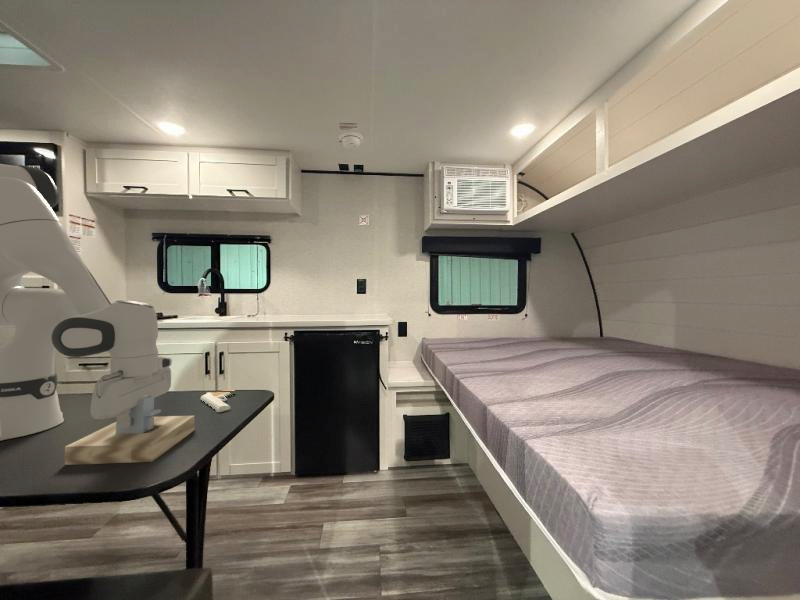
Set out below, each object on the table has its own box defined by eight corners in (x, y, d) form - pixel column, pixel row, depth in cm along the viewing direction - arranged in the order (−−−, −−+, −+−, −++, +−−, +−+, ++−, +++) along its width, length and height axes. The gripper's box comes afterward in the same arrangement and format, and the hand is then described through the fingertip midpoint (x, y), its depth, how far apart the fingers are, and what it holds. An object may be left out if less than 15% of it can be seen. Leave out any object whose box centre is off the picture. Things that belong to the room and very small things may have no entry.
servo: (107, 434, 73) (109, 396, 73) (119, 429, 76) (121, 393, 77) (150, 433, 73) (151, 395, 74) (160, 428, 77) (161, 392, 77)
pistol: (253, 405, 105) (217, 415, 96) (230, 392, 118) (196, 400, 109) (253, 398, 105) (217, 407, 96) (230, 386, 117) (196, 393, 109)
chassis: (65, 464, 67) (64, 446, 67) (125, 432, 83) (125, 417, 82) (152, 461, 68) (152, 443, 68) (194, 429, 84) (194, 415, 84)
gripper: (112, 377, 64) (112, 442, 65) (176, 357, 85) (176, 407, 85) (80, 378, 64) (80, 443, 64) (152, 358, 84) (152, 407, 85)
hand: (135, 422), depth 75 cm, fingers closed on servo, 4 cm apart
